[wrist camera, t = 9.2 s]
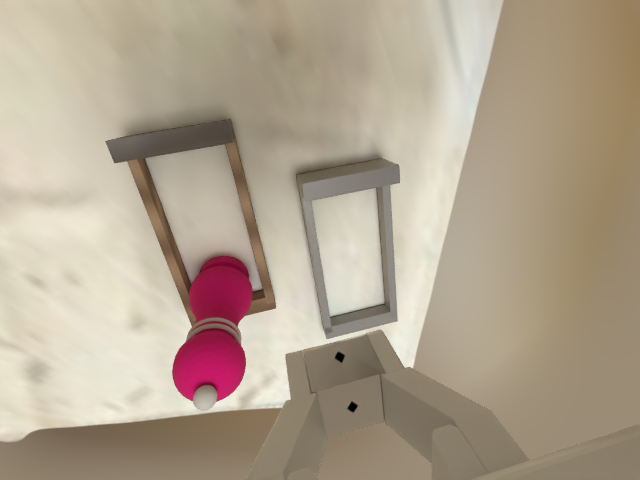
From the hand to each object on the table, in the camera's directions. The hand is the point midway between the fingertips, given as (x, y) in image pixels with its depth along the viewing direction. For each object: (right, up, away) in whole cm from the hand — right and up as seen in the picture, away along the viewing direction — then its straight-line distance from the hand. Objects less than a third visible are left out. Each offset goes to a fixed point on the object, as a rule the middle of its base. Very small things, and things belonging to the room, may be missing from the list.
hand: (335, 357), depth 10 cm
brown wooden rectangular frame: (-14, +5, +29) cm, 33 cm away
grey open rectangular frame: (+4, +2, +34) cm, 35 cm away
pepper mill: (-13, -1, +32) cm, 35 cm away
